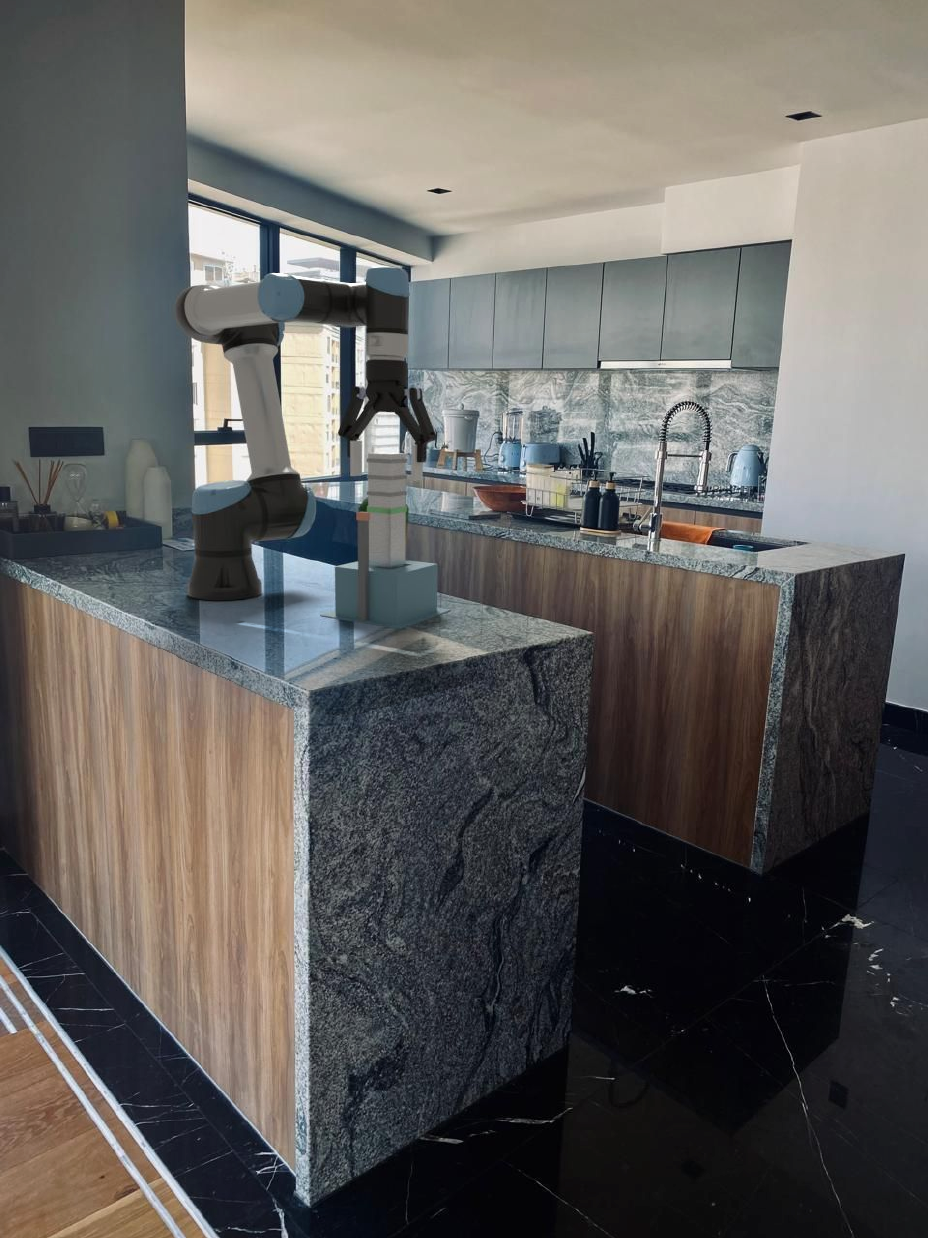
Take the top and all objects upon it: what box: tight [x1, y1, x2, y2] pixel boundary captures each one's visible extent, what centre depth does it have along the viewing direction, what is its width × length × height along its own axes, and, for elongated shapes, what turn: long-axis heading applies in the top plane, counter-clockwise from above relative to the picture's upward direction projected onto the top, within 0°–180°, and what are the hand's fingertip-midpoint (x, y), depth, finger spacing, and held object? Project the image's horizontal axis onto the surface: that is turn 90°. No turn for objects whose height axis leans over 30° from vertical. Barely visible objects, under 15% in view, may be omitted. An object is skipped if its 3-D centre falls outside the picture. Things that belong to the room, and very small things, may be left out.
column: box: [366, 451, 408, 570], centre depth 164 cm, size 5×5×22 cm
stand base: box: [320, 511, 452, 630], centre depth 166 cm, size 18×18×21 cm
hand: (385, 478), depth 163 cm, fingers open, 13 cm apart
